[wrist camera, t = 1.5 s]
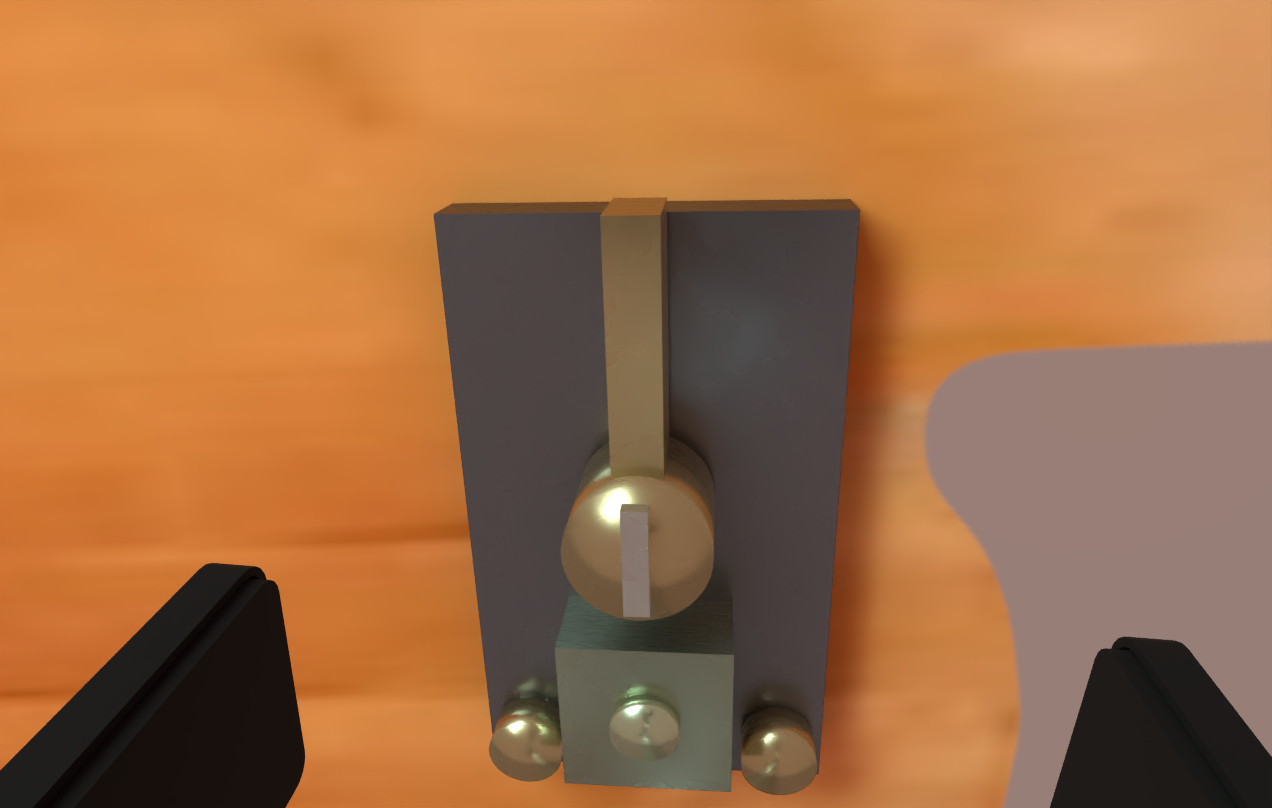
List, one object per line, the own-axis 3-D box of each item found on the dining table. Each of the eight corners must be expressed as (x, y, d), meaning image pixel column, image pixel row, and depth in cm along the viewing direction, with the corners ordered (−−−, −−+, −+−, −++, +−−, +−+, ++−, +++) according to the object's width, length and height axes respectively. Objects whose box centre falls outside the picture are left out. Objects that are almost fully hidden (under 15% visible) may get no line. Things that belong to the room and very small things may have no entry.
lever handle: (713, 553, 30) (712, 633, 26) (584, 549, 30) (562, 627, 26) (718, 195, 25) (717, 224, 21) (564, 197, 26) (534, 224, 21)
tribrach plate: (813, 736, 35) (829, 853, 30) (506, 722, 37) (471, 831, 31) (850, 199, 27) (881, 233, 22) (452, 203, 28) (392, 236, 23)
